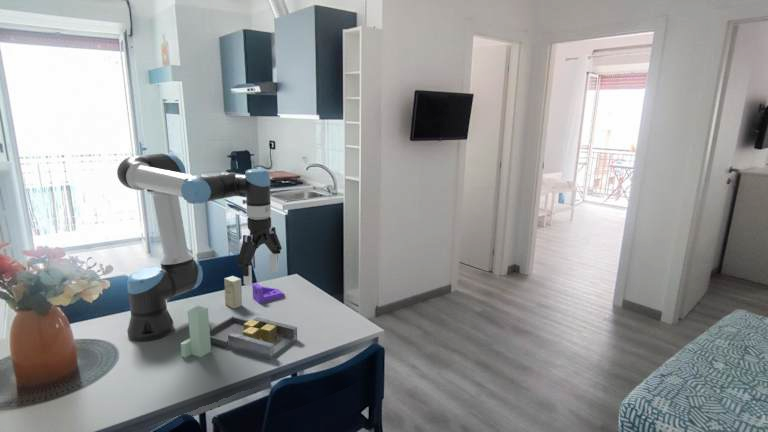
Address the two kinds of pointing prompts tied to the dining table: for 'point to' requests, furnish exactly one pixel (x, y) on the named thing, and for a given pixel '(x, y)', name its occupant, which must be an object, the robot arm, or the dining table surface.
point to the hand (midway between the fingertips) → (261, 277)
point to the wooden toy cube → (252, 333)
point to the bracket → (266, 293)
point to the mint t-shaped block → (197, 333)
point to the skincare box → (233, 292)
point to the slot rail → (264, 341)
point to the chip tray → (226, 331)
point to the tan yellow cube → (268, 332)
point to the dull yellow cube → (252, 324)
